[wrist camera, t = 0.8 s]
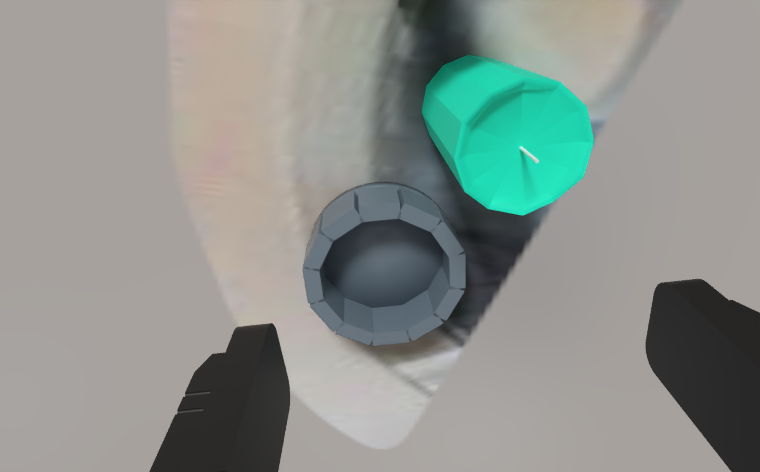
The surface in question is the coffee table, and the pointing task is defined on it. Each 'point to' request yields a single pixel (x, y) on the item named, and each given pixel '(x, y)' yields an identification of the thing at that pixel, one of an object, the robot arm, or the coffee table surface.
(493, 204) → the candle
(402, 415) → the coffee table surface
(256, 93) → the coffee table surface
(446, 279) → the candle dish
